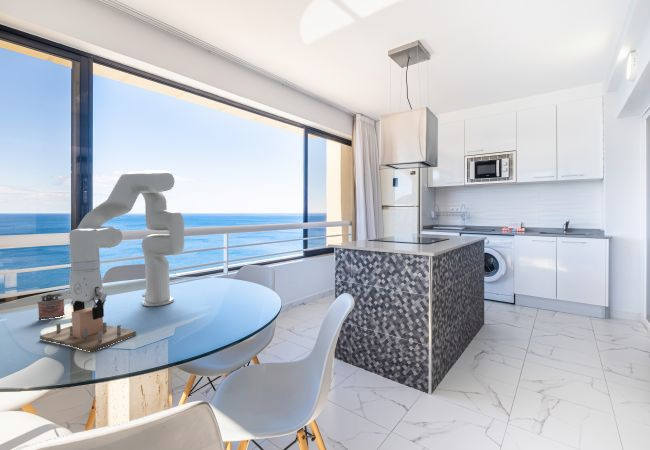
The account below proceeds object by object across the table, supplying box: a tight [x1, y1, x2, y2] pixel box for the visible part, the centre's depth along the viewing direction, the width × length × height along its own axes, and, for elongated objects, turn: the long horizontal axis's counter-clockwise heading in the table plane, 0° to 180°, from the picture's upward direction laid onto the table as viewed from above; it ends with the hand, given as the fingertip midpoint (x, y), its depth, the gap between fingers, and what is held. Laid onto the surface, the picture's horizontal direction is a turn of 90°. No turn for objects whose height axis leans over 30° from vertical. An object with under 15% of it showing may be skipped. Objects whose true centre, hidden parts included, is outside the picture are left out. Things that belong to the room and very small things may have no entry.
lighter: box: [37, 292, 66, 320], centre depth 121 cm, size 8×3×10 cm, turn 117°
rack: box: [39, 321, 137, 353], centre depth 102 cm, size 26×14×4 cm, turn 69°
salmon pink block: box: [71, 306, 104, 338], centre depth 102 cm, size 4×7×8 cm, turn 158°
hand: (88, 316), depth 102 cm, fingers open, 9 cm apart
